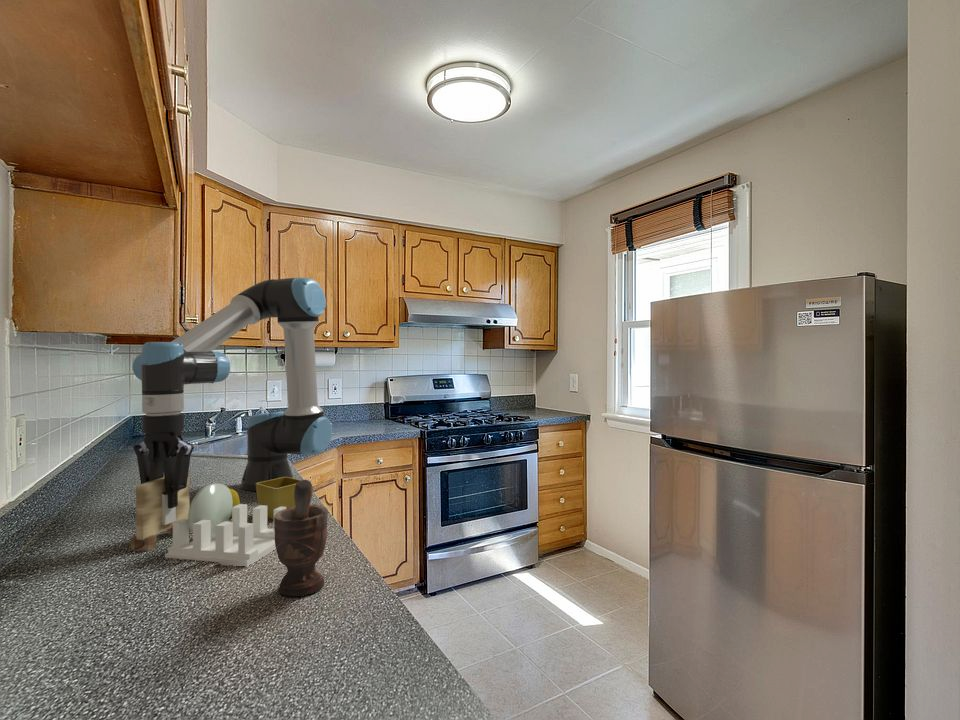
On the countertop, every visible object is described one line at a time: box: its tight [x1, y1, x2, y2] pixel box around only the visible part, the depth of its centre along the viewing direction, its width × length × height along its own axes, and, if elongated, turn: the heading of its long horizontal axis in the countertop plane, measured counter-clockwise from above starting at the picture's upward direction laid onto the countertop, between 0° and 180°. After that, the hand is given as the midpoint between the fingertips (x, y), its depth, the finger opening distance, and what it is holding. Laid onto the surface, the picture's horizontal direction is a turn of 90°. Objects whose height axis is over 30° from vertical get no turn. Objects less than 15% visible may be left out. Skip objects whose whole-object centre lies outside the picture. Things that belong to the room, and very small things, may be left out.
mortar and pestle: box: [273, 479, 329, 597], centre depth 80 cm, size 12×9×20 cm
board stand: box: [130, 527, 192, 552], centre depth 102 cm, size 11×4×3 cm, turn 170°
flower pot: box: [255, 477, 302, 520], centre depth 119 cm, size 9×9×9 cm
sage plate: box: [188, 482, 233, 538], centre depth 100 cm, size 11×1×11 cm, turn 170°
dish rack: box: [164, 503, 286, 568], centre depth 99 cm, size 15×18×7 cm
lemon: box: [228, 487, 241, 518], centre depth 117 cm, size 6×6×8 cm
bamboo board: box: [135, 471, 190, 541], centre depth 102 cm, size 12×2×11 cm, turn 169°
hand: (164, 522), depth 102 cm, fingers closed on bamboo board, 2 cm apart
